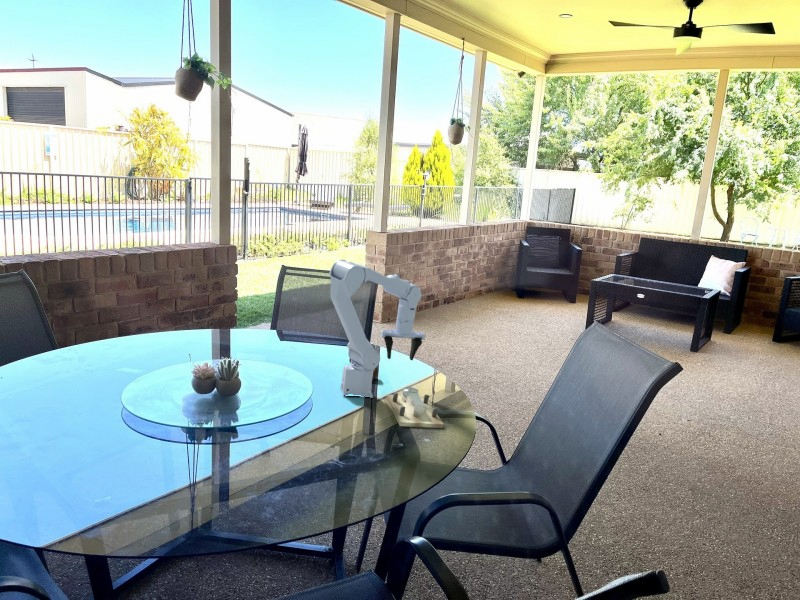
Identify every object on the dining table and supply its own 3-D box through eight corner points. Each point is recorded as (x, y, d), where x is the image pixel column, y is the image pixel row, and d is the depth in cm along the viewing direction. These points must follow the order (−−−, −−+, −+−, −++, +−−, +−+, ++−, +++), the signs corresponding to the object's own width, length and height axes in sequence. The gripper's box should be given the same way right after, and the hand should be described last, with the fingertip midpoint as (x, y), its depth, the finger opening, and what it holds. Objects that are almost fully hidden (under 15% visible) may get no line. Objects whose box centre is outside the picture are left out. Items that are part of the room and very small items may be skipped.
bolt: (353, 369, 212) (372, 383, 200) (343, 363, 210) (361, 376, 197) (362, 355, 213) (381, 368, 200) (352, 349, 210) (370, 362, 198)
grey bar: (410, 415, 171) (412, 404, 170) (400, 396, 184) (401, 386, 184) (425, 416, 172) (427, 405, 171) (414, 397, 185) (416, 387, 185)
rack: (399, 426, 166) (401, 414, 165) (386, 398, 185) (388, 387, 184) (442, 427, 169) (445, 416, 168) (425, 400, 188) (427, 389, 187)
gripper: (386, 321, 184) (380, 361, 187) (429, 324, 187) (424, 363, 190) (382, 315, 191) (377, 354, 194) (424, 318, 194) (418, 356, 197)
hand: (400, 358), depth 192 cm, fingers open, 7 cm apart
